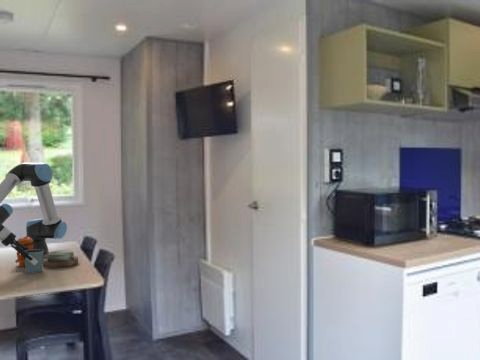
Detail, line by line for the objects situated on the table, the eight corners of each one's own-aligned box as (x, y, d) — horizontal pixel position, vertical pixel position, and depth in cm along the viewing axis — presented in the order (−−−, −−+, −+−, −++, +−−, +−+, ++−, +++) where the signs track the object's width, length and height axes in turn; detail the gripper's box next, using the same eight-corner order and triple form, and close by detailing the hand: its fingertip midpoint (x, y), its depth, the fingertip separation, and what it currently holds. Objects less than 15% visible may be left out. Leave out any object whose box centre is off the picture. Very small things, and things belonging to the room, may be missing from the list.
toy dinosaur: (27, 267, 266) (26, 237, 265) (11, 266, 268) (10, 236, 267) (39, 263, 277) (38, 234, 276) (23, 262, 279) (23, 233, 278)
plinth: (54, 259, 286) (54, 249, 285) (84, 261, 283) (84, 250, 283) (36, 267, 266) (35, 255, 266) (67, 268, 263) (67, 257, 263)
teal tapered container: (20, 272, 255) (19, 251, 254) (34, 268, 264) (34, 248, 263) (33, 274, 251) (33, 253, 250) (47, 270, 260) (47, 249, 260)
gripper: (0, 238, 260) (30, 261, 267) (-1, 245, 238) (31, 270, 245) (11, 228, 262) (39, 251, 269) (10, 235, 240) (42, 260, 247)
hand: (35, 260), depth 257 cm, fingers open, 13 cm apart
